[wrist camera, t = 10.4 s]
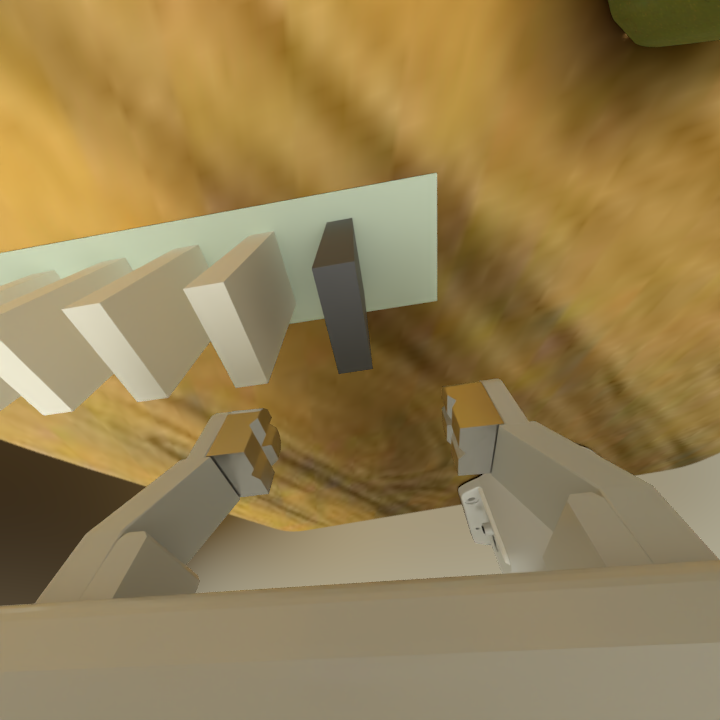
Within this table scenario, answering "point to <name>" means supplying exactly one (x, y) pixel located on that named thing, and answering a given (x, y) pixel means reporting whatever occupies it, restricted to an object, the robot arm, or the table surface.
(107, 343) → the domino
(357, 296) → the black domino
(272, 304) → the domino
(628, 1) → the plant pot
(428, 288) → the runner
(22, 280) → the domino
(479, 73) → the table surface
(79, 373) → the domino
